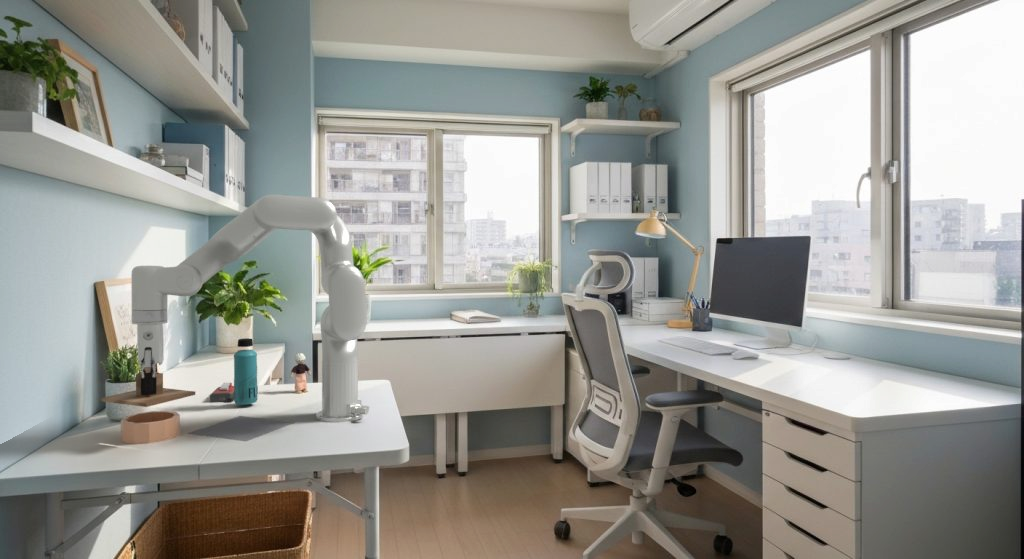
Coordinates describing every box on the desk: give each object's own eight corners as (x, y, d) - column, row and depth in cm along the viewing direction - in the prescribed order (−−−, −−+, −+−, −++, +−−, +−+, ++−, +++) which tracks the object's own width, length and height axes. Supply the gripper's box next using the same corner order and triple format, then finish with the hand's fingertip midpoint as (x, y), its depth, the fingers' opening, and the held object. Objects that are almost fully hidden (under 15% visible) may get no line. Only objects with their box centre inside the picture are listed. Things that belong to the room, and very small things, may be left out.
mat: (295, 423, 168) (295, 422, 168) (246, 442, 151) (246, 441, 151) (240, 417, 174) (240, 415, 174) (187, 434, 157) (187, 433, 157)
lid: (195, 394, 158) (195, 371, 158) (146, 407, 145) (146, 381, 145) (152, 389, 163) (152, 367, 162) (101, 401, 149) (101, 376, 149)
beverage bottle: (249, 410, 182) (249, 340, 181) (228, 408, 183) (228, 339, 182) (262, 405, 188) (262, 337, 187) (242, 403, 190) (242, 336, 189)
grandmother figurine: (303, 389, 210) (303, 351, 210) (312, 390, 209) (312, 352, 208) (286, 393, 203) (286, 354, 203) (295, 395, 202) (295, 355, 201)
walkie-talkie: (239, 403, 191) (251, 389, 211) (239, 389, 191) (251, 376, 211) (207, 404, 189) (222, 390, 209) (207, 390, 189) (222, 377, 209)
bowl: (190, 433, 158) (190, 413, 158) (148, 447, 147) (148, 425, 146) (153, 428, 162) (153, 409, 162) (109, 441, 150) (109, 420, 150)
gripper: (165, 320, 147) (165, 398, 148) (169, 313, 162) (168, 384, 163) (127, 321, 144) (127, 400, 144) (134, 314, 159) (134, 386, 160)
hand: (149, 391), depth 154 cm, fingers closed on lid, 5 cm apart
